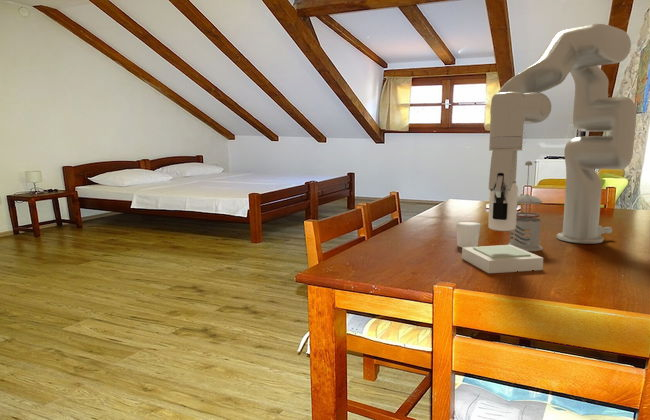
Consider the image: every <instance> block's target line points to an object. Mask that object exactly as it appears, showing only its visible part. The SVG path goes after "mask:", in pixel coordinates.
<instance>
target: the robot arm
mask: <svg viewBox="0 0 650 420" xmlns="http://www.w3.org/2000/svg"><path fill="white" fill-rule="evenodd" d="M631 46H632V41H631V38H630V35H629V34H628V33H627V32H626V31H625V30H623V29H621V28H618V27H615V26H612V25H609V24H606V23H605V24H604V23H593V24H586V25H582V26H577V27H573V28H567V29H565V30H564V29H563V30H561V31H559V32H557V34H555V35H554V36H553V38H552V39H551V41H550V42H549V43H548V45H547V46H546V48H545V49H544V50H543V52H542V53H541V55H540V56H539V58H537V60H536V62H535V63H534V64H532V65H530V66H529V67H527V68H525V69H523V70H522V71H521V72H519V73H517V74H515V75H514V76H513V77H511V78H510V79H509V80H507V81H506V82H505V83H504V84H503V85H502V86H501V88H499V91H498V92H497V93H494V95H492V98H491V100H490V101H491V102H490V122H489V123H490V125H489V144H488V145H489V146H488V151H492V152H491V159H490V167H489V168H490V169H489V178H488V190H489V192H490V191H493V190H492V189H494V186H495V184H496V186H495V194H494V203H493V219H499V220H506V219H507V206H508V203H506V201H507V193H508V191H510V190H511V187H512V184H513V182H515V181H516V180H517V167H518V163H517V162H518V151H523V143H524V142H523V140H524V125H530V124H538V123H542V122H544V121H545V120H546V119H548V117H549V116H550V114H551V111H552V102H551V99H550V98H549V97H548V95H546V94H544V93H543V92H545V91H548V90H550V89H553V88H555V87H558V86H559V85H560V84H562V83H563V82H564V81H565V80H566V78H567V76H568V75H569V73H570V74H571V76H572V78H573V80H574V101H573V102H574V103H573V110H572V111H573V113H572V124H573V127H574V128H575V129H576V130H577V131H579V132H588V133H589V132H611V133H612V134H611V135H590V136H589V135H584V136H583V135H582V136H577V137H574V138H571V139H570V140H568V141H567V143H565V147H564V149H563V150H564V153H563V155H564V161H565V173H566V175H565V190H564V191H565V192H564V193H565V195H564V207H563V209H564V210H563V222H562V232H559V233H557V234H556V238H557V239H558V240H560V241H563V242H568V243H573V244H585V245H586V244H588V245H589V244H590V245H591V244H594V245H595V244H601V243H603V242H604V237H603V236H602V235H603V234H611V233H613V228H612V227H611V226H605V227H603V225H599V224H600V213H601V198H602V187H603V184H602V180H601V177H600V175H598V173H597V172H596V170H599V169H600V170H622V169H626V168H627V167H628V166H629V165H630V164H631V162H632V159H633V154H634V148H635V147H634V146H635V138H636V137H635V134H636V126H637V107H636V104H635V102H634V100H633V99H632V98H631V97H630V98H629V97H626V96H615V97H614V96H613V97H609V77H608V76H607V75H606V73H605V72H604V71H603V69H601V67H599V66H605V65H606V66H607V65H614V64H619V63H621V62H623V61H624V60H626V59H627V57H629V54H630V52H631V48H632V47H631ZM503 180H504V181H503ZM516 182H517V181H516ZM502 188H505V190H502ZM503 195H504V196H503Z"/></svg>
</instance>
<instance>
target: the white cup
mask: <svg viewBox="0 0 650 420" xmlns="http://www.w3.org/2000/svg"><path fill="white" fill-rule="evenodd" d="M455 224H456V226H455V227H456V242H457V246H458V247H460V248H462V247H478V245H479V243H478V242H479V238H480V237H479V236H480V231H481V230H480V228H481V223H480V222H477V221H470V220H469V221H468V220H461V221H457V222H456V223H455Z"/></svg>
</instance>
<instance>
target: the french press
mask: <svg viewBox="0 0 650 420" xmlns="http://www.w3.org/2000/svg"><path fill="white" fill-rule="evenodd" d="M524 163H525V164H524V165H525V166H527V178H529V176H530V175H529V174H530V173H529V172H530V166H533V162H532V161H530V160H528V161H526V162H524ZM526 183H527V184H526V185H527V186H526V194H524V195H519V196H518V197H517V208H518V204H523V205H524V204H525V211H524V212H523V211H519V212H518V211H517V216H516V229H514V230H513V231H510V234H509V235H510V236H509V237H510V238H509V239H510V241H509V243H508V244H506V245H513V246H515V247H518V248H520V249H523V250H525V251H528V252H538V251H542V250H543V246H541V245H540V232H541V230H540V229H541V219H539V217H540V214H539V213H535V212H529V211H528V205H538V204H542V202H543V200H542V199H540V198H539V197H536V196H535V195H530V194H528V192H529V180H527V181H526ZM527 211H528V212H527ZM525 235H526V236H525Z"/></svg>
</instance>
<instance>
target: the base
mask: <svg viewBox="0 0 650 420" xmlns="http://www.w3.org/2000/svg"><path fill="white" fill-rule="evenodd" d="M461 248H462V249H461V259H462V260H464V261H466V262H468V263H469V264H471V265H473V266H475V267H476V268H478V269H480V270H482V271H484V272H485V273H487V274H498V273H499V274H500V273H501V274H502V273H515V272H517V271H518V272H531V271H532V270H534V271H543V269H544V257H542V256H539V255H537V254H535V253H533V252H531V251H525V250H523V249H520V248H518V247H515V246H513V245H507V244H502V245H501V244H500V245H486V246H485V245H484V246H483V245H481V246H477V247H461Z"/></svg>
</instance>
